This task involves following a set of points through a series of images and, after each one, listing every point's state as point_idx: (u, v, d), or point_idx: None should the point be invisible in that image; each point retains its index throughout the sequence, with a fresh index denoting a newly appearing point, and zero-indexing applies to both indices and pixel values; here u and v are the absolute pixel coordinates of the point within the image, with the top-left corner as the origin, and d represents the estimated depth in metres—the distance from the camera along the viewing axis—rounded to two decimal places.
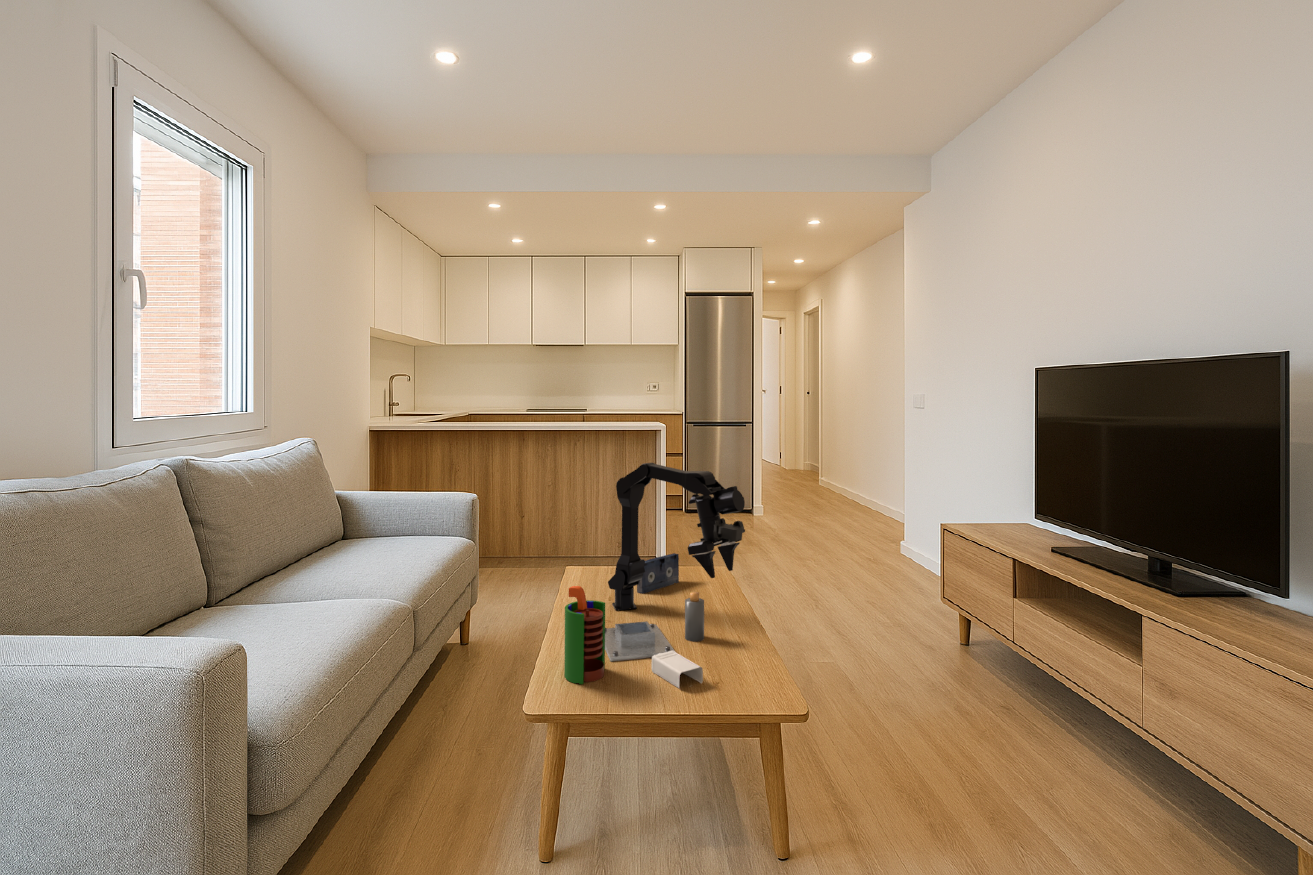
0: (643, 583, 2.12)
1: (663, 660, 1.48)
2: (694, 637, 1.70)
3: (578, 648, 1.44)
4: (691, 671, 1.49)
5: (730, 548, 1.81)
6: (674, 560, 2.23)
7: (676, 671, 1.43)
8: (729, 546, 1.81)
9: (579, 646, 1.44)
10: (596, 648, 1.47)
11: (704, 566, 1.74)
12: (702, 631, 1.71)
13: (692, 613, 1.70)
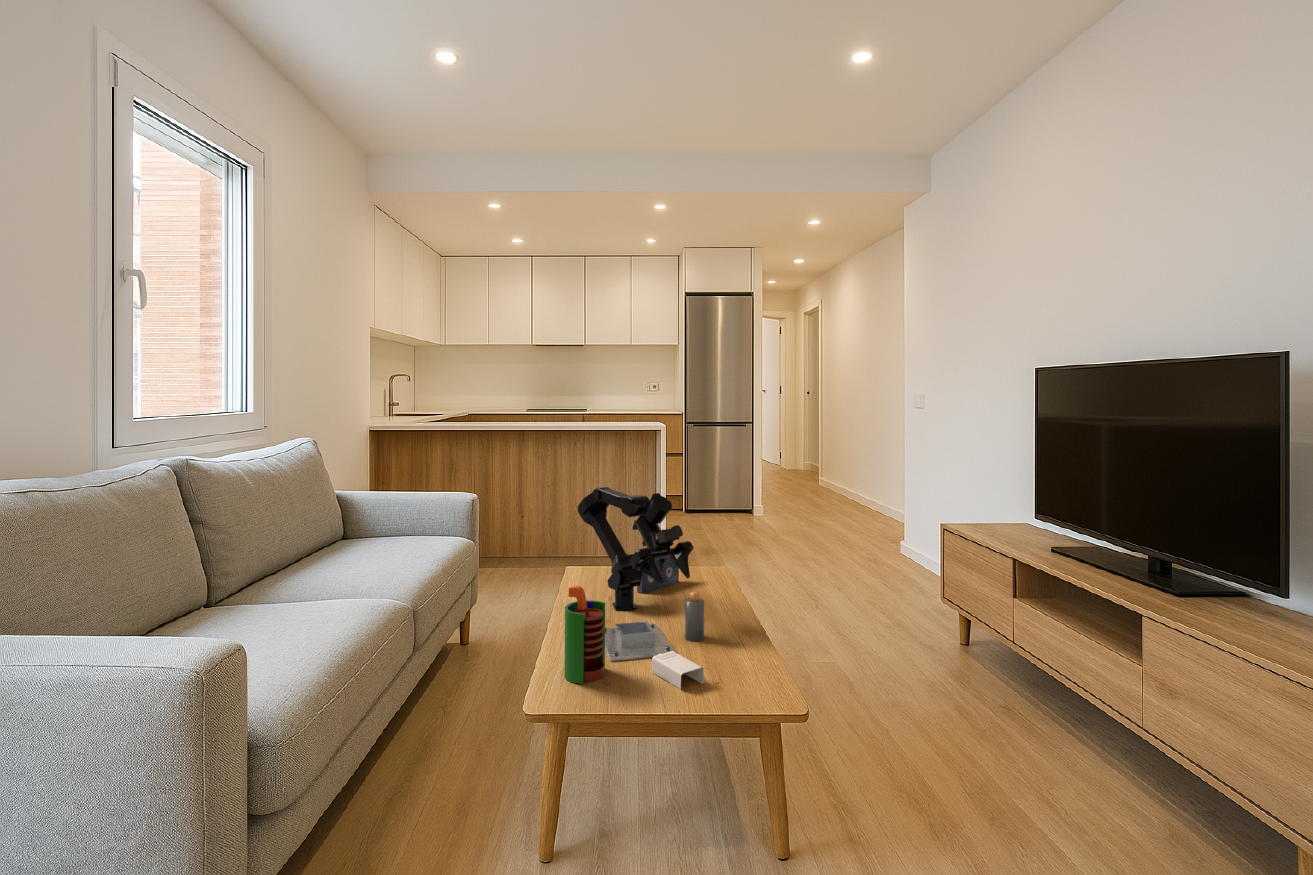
0: (643, 583, 2.12)
1: (664, 661, 1.48)
2: (694, 637, 1.70)
3: (578, 648, 1.44)
4: (692, 671, 1.48)
5: (682, 556, 1.84)
6: (674, 560, 2.23)
7: (677, 672, 1.42)
8: (681, 555, 1.84)
9: (579, 646, 1.44)
10: (596, 648, 1.47)
11: (651, 575, 1.77)
12: (702, 631, 1.71)
13: (692, 613, 1.70)
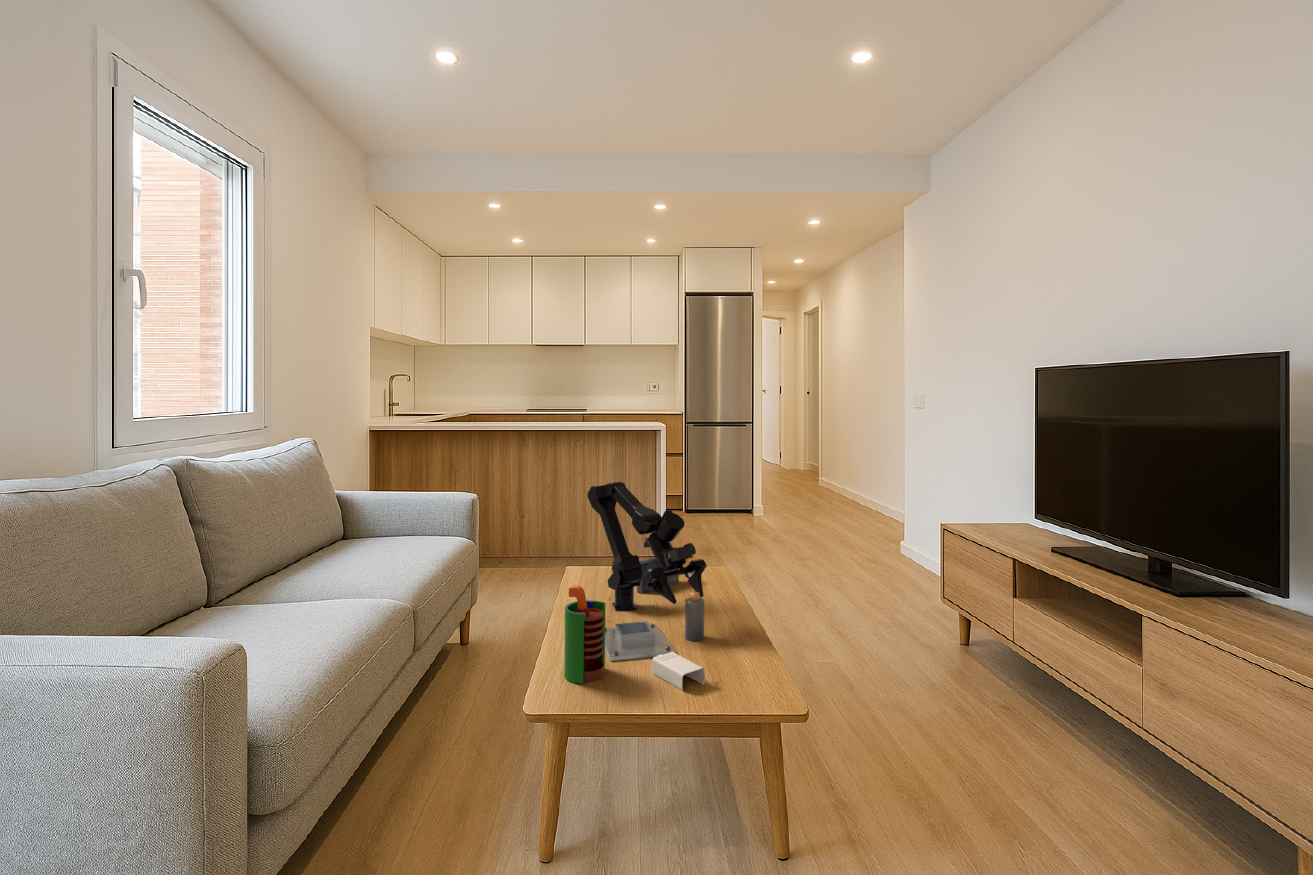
0: None
1: (664, 662, 1.47)
2: (694, 637, 1.70)
3: (578, 648, 1.44)
4: (692, 672, 1.48)
5: (695, 575, 1.79)
6: None
7: (679, 673, 1.42)
8: (694, 574, 1.80)
9: (579, 646, 1.44)
10: (596, 648, 1.47)
11: (664, 594, 1.73)
12: (702, 631, 1.71)
13: (692, 613, 1.70)
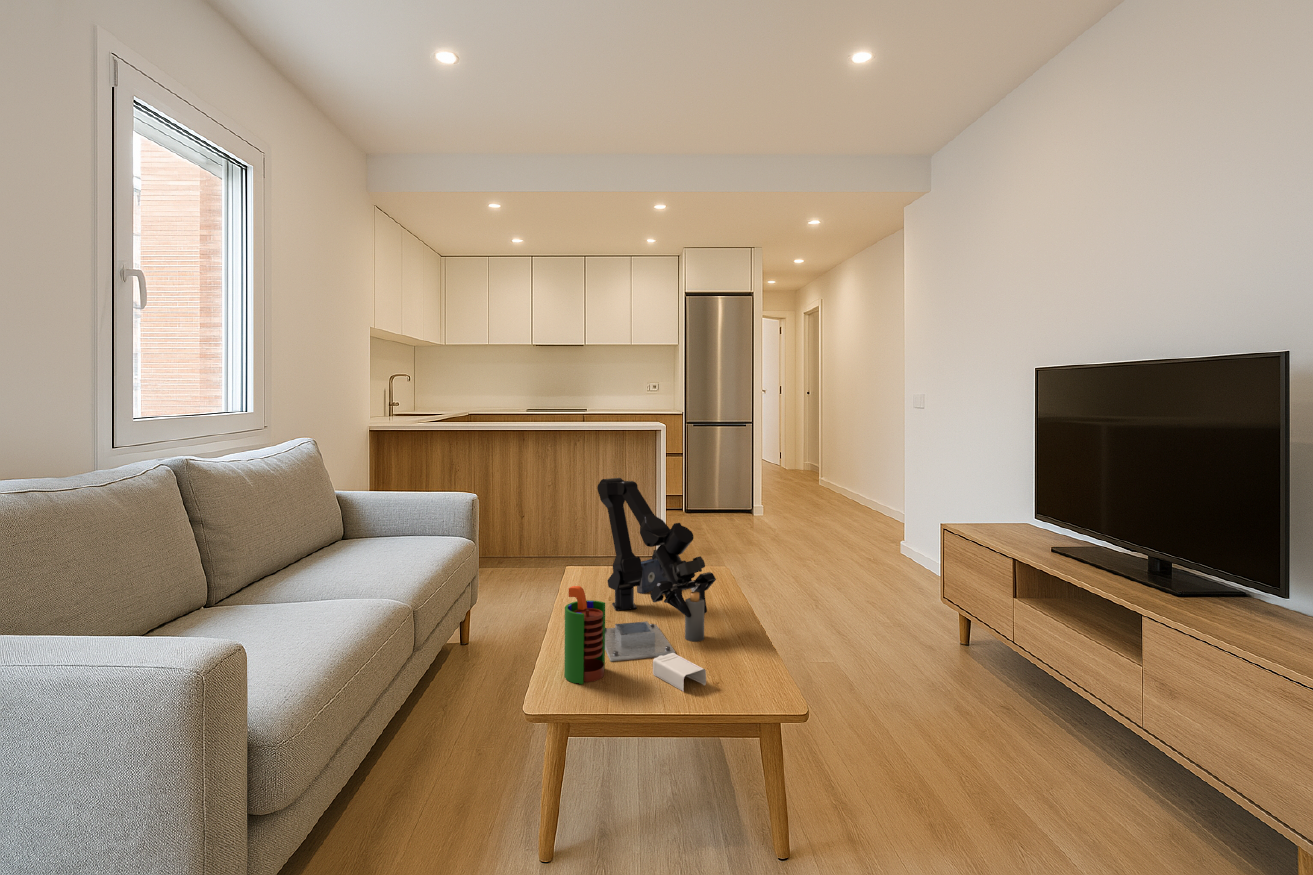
0: (643, 583, 2.12)
1: (665, 663, 1.46)
2: (694, 637, 1.70)
3: (578, 648, 1.44)
4: (693, 673, 1.47)
5: (698, 590, 1.75)
6: None
7: (680, 674, 1.41)
8: (697, 589, 1.76)
9: (579, 646, 1.44)
10: (596, 648, 1.47)
11: (678, 608, 1.71)
12: (702, 631, 1.71)
13: (692, 613, 1.70)
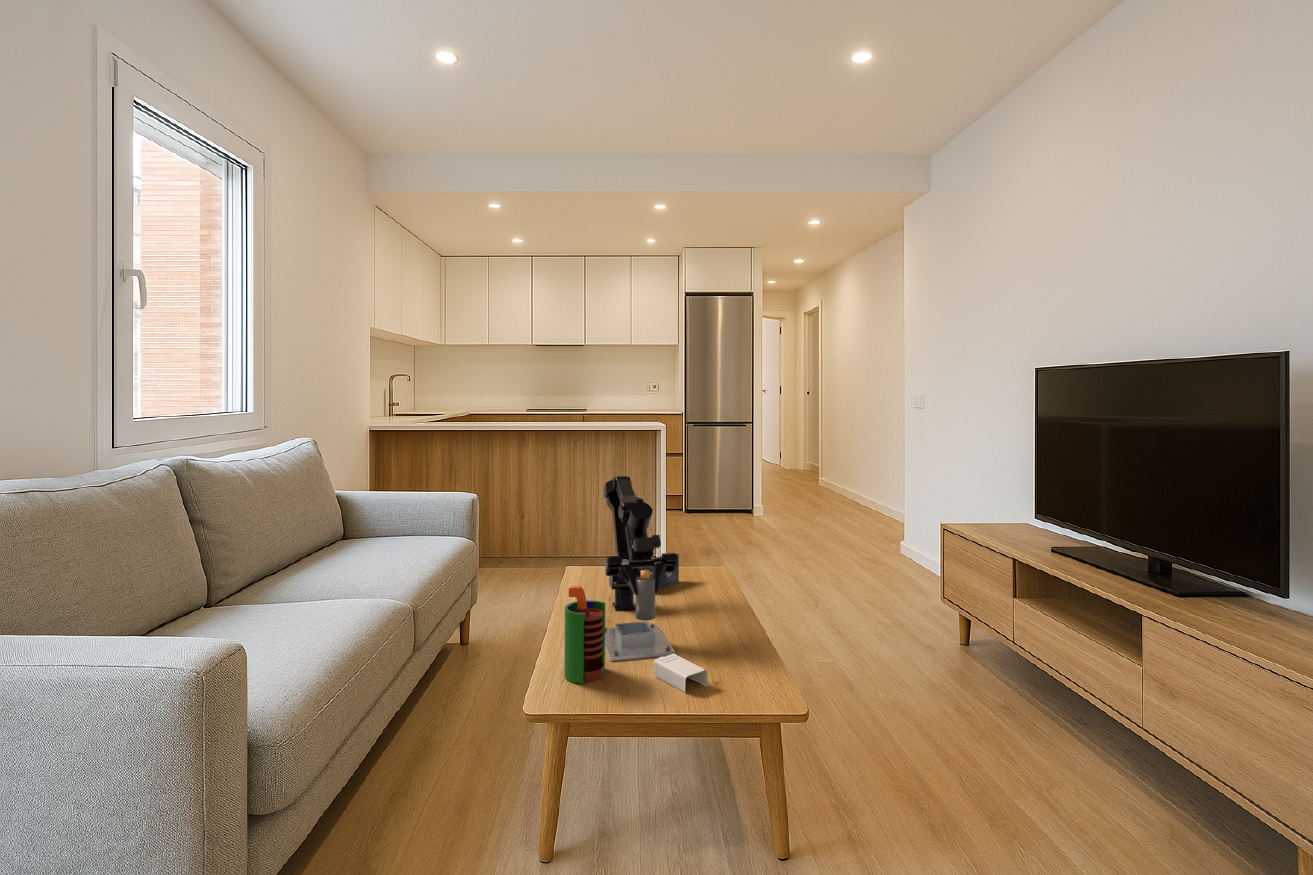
0: None
1: (667, 664, 1.46)
2: (640, 616, 1.66)
3: (578, 648, 1.44)
4: (694, 674, 1.47)
5: (655, 569, 1.70)
6: None
7: (681, 675, 1.41)
8: (655, 568, 1.71)
9: (579, 646, 1.44)
10: (596, 648, 1.47)
11: (629, 584, 1.69)
12: (650, 611, 1.66)
13: (638, 590, 1.66)
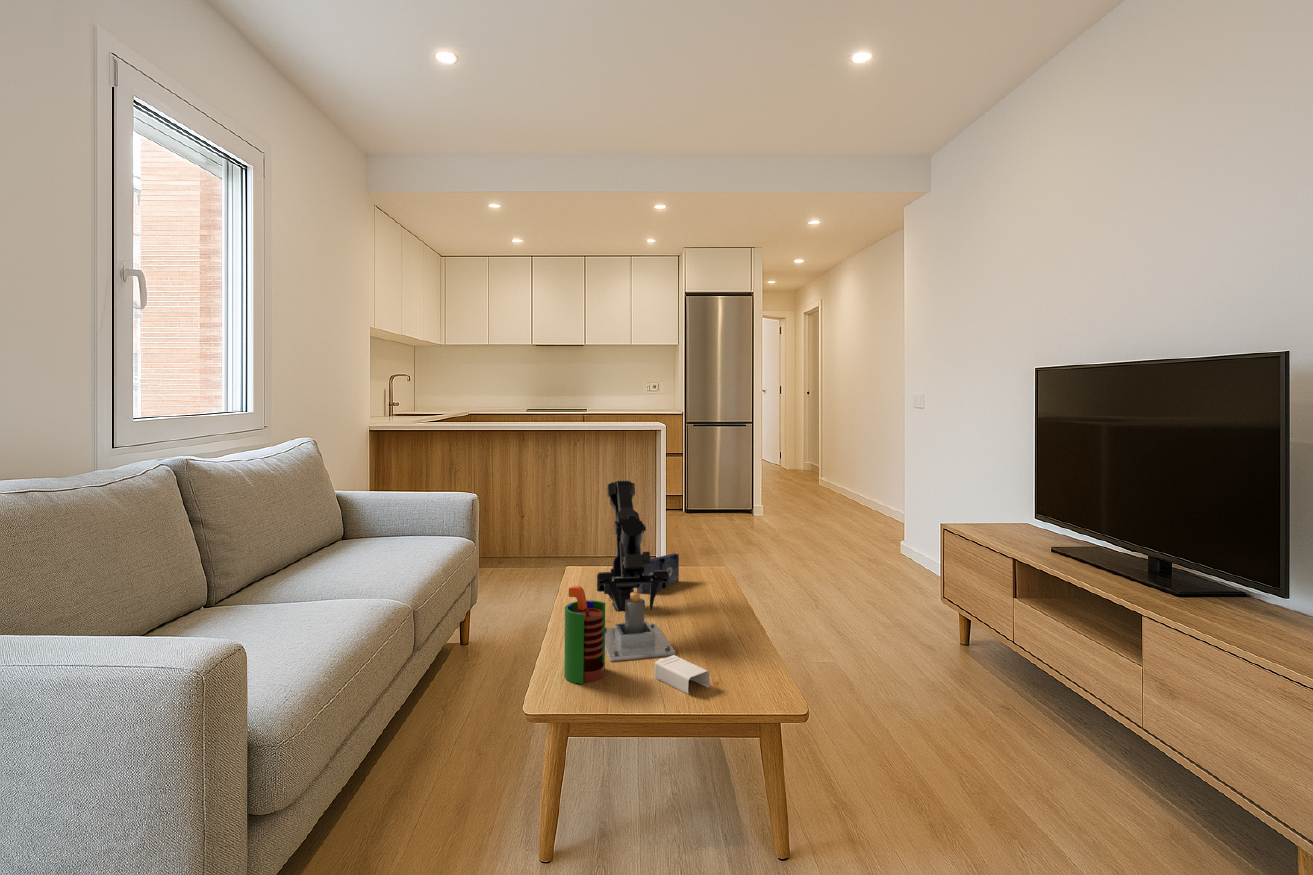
0: None
1: (668, 665, 1.45)
2: None
3: (578, 648, 1.44)
4: (696, 675, 1.46)
5: (651, 586, 1.70)
6: (674, 560, 2.23)
7: (684, 676, 1.40)
8: None
9: (579, 646, 1.44)
10: (596, 648, 1.47)
11: (613, 601, 1.69)
12: None
13: (627, 612, 1.67)
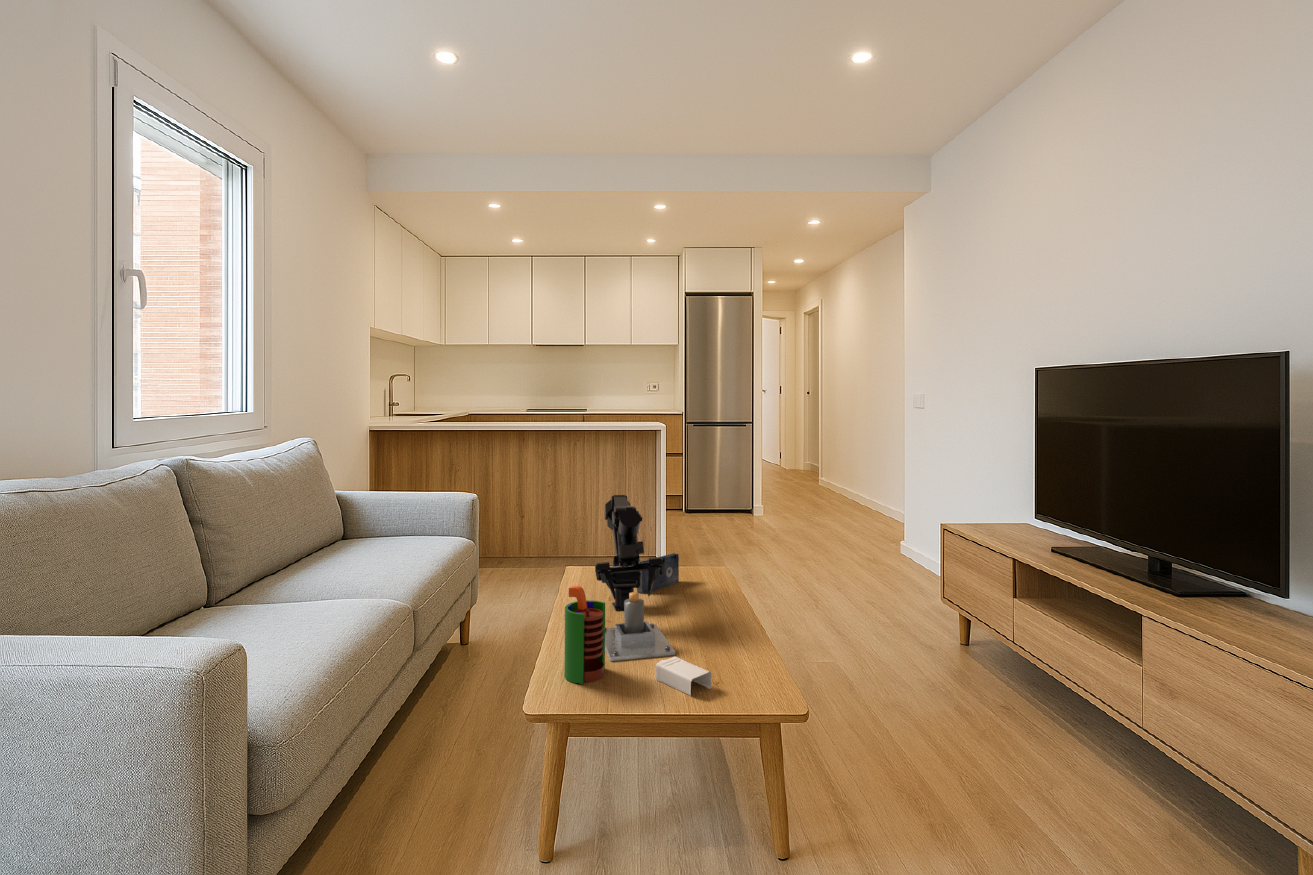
0: (643, 583, 2.12)
1: (669, 667, 1.44)
2: None
3: (578, 648, 1.44)
4: (697, 676, 1.46)
5: None
6: (674, 560, 2.23)
7: (686, 678, 1.39)
8: None
9: (579, 646, 1.44)
10: (596, 648, 1.47)
11: (610, 589, 1.79)
12: None
13: (626, 613, 1.67)
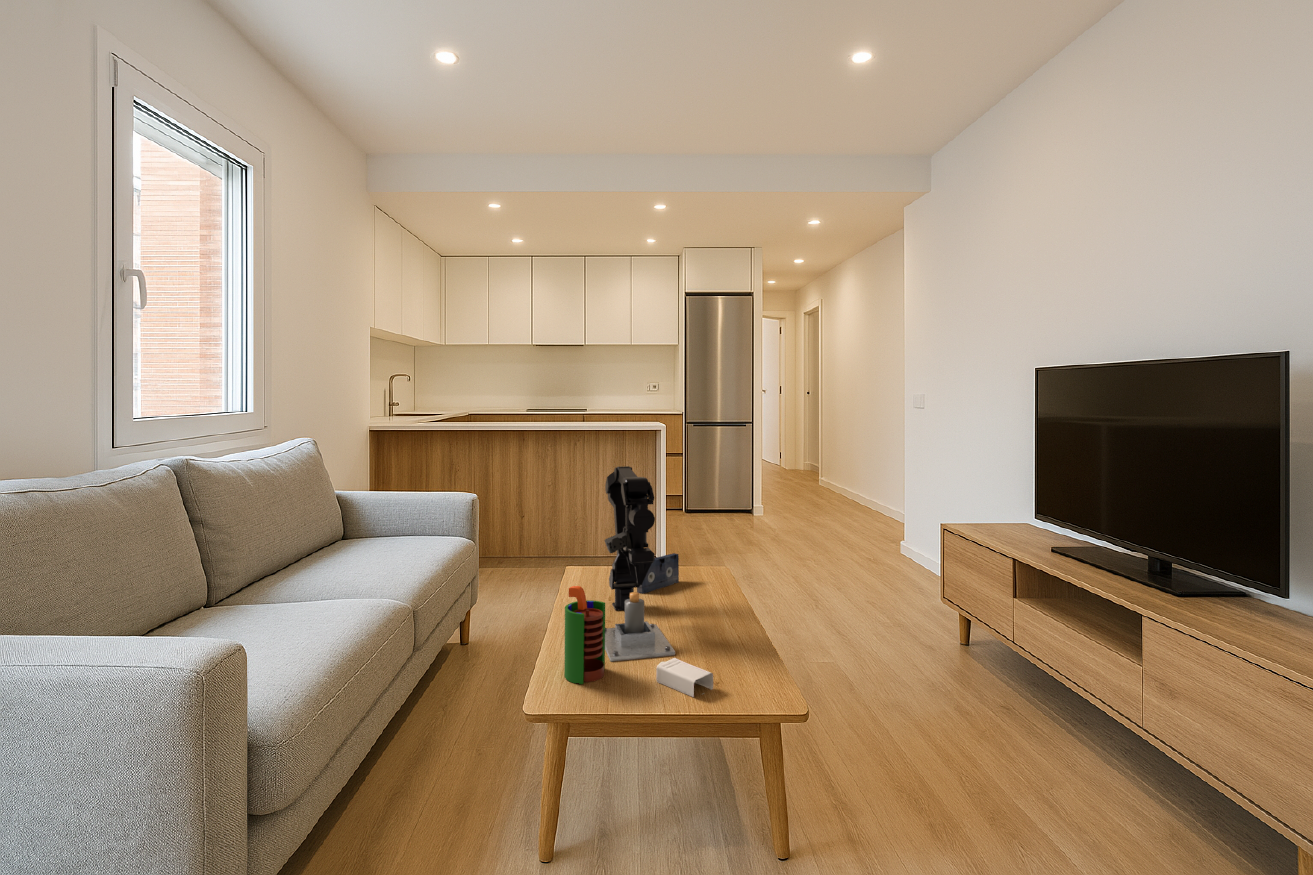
0: (643, 583, 2.12)
1: (671, 669, 1.43)
2: None
3: (578, 648, 1.44)
4: None
5: None
6: (674, 560, 2.23)
7: (689, 679, 1.39)
8: None
9: (579, 646, 1.44)
10: (596, 648, 1.47)
11: None
12: None
13: (626, 613, 1.67)
